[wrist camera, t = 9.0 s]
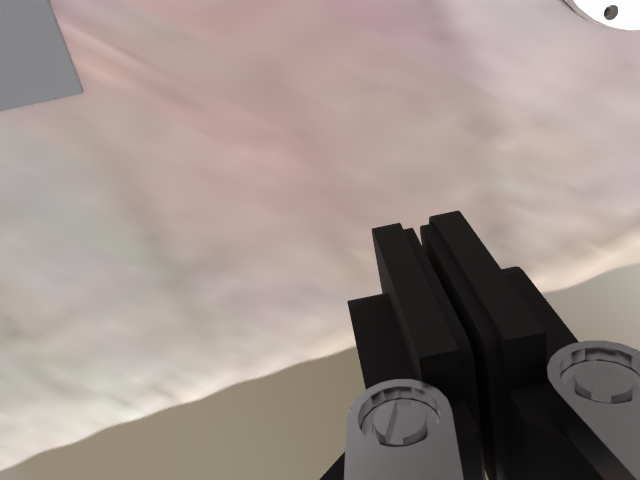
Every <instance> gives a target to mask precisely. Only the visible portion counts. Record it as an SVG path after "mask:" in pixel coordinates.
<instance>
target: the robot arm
mask: <svg viewBox="0 0 640 480" xmlns="http://www.w3.org/2000/svg"><path fill="white" fill-rule="evenodd" d="M565 1H566V2H567V3H568V4H569V5H570V7H571V8H572V9H573V10H574V11H575V12H576V13H578V14H579V15H581V16H582V17H584V18H586V19H587V20H589V21H590V22H592V23H595V24H598V25H601V26H604V27H607V28H610V29H616V30H622V31H640V0H565ZM606 8H607V12H606V14H605V15H604V10H605V9H606ZM420 233H421V241H422V245H421V243H420V241H419V239H418V237H417V235H416V233H415V231H414V229H413V228H409V229H404V230H403V228H402V226H401V224H400V223H397V224H392V225H387V226H382V227H377V228H373V229H372V235H373V242H374V247H375V253H376V259H377V265H378V270H379V276H380V282H381V288H382V294H379V295H375V296H370V297H365V298H360V299H355V300H350V301H348V306H349V311H350V316H351V321H352V325H353V330H354V335H355V340H356V345H357V349H358V354H359V359H360V364H361V368H362V373H363V378H364V382H365V387H366V390H365V391H364V392H363V393H362V394H360V395H359V396H358V397H357V398H356V399H355V401H354V402H353V404H352V405H351V407H350V409H349V412H348V416H347V425H346V426H347V427H346V447H345V452H344V453H343V454H342V455H341V456H340V458H339V459H338V460H337V461H336V462H335V463H334V464H333V465H332V466H331V468H330V469H329V470H328V471H327V472H326V473H325V474H324V475H323V476H322V478H321V479H320V480H486V479H485V471H486V474H487V476H488V479H489V480H640V351H638V350H637V349H634V348H631V347H629V346H626V345H623V344H620V343H614V342H609V341H584V342H578V340H577V339H576V338H575V337H574V335H573V334H572V333H571V332H570V330H569V329H568V328H567V326H566V325H565V324H564V323H563V321H562V320H561V319H560V317H559V316H558V315H557V313H556V312H555V311H554V310H553V308H552V307H551V306H550V305H549V303H548V302H547V301H546V299H545V298H544V297H543V296H542V294H541V293H540V292H539V290H538V289H537V288H536V287H535V285H534V284H533V283H532V281H531V280H530V279H529V278H528V276H527V275H526V274H525V272H524V271H523V270H522V269H521V268H520V267H511V268H506V269H501V268H500V267H499V265H498V264H497V263H496V261H495V260H494V258H493V257H492V256H491V254H490V253H489V251H488V250H487V249H486V247H485V246H484V244H483V243H482V242H481V240H480V239H479V237H478V236H477V235H476V233H475V232H474V230H473V229H472V228H471V226H470V225H469V223H468V222H467V221H466V219H465V218H464V217H463V215H462V214H461V212H460V211H454V212H449V213H445V214H440V215H435V216H430V218H429V224H428V225H423V226H421V227H420Z"/></svg>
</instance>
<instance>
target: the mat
mask: <svg viewBox="0 0 640 480" xmlns="http://www.w3.org/2000/svg"><path fill="white" fill-rule="evenodd" d="M83 92H84V91H83V88H82V86H81V83H80V80H79V78H78V75H77V72H76V70H75V67H74V65H73V62H72V59H71V57H70V54H69V51H68V49H67V46H66V43H65V41H64V38H63V36H62V33H61V30H60V28H59V25H58V22H57V20H56V17H55V15H54V12H53V9H52V7H51V4H50V1H49V0H0V111H4V110H9V109H13V108H18V107H22V106H27V105H32V104H36V103H41V102H45V101H50V100H55V99H59V98H64V97H68V96H73V95H78V94H82V93H83Z"/></svg>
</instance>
